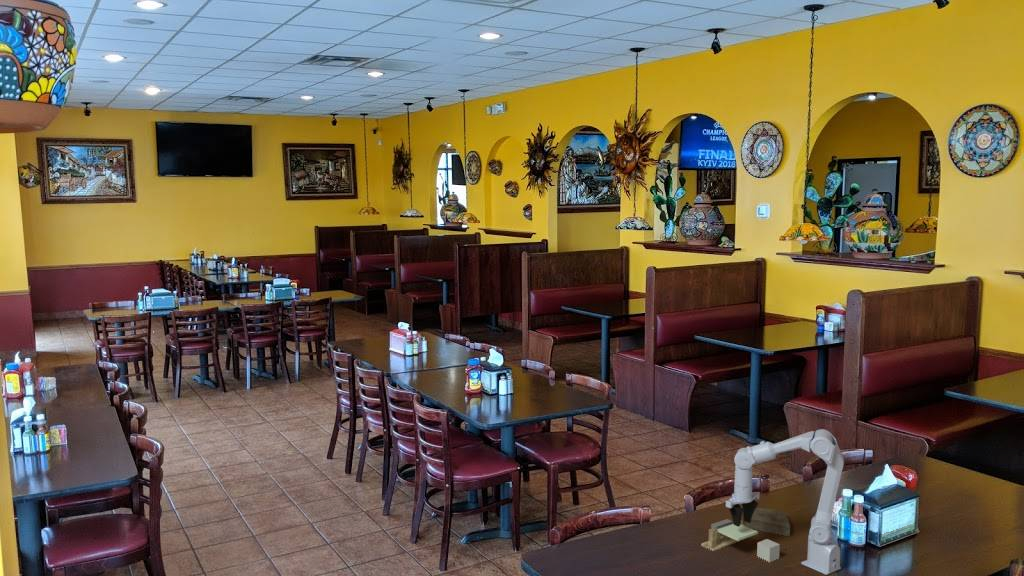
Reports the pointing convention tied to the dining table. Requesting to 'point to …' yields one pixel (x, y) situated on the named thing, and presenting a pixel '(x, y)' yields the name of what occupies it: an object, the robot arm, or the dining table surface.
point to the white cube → (768, 550)
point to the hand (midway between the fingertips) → (741, 523)
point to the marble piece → (770, 521)
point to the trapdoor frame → (718, 539)
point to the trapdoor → (734, 530)
